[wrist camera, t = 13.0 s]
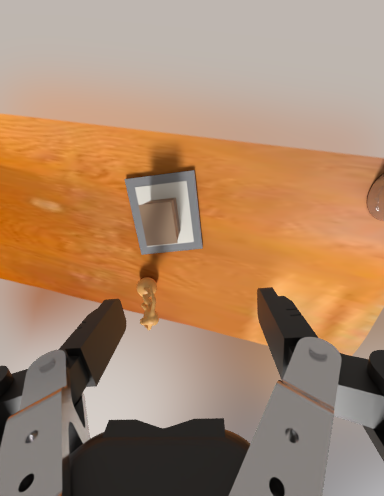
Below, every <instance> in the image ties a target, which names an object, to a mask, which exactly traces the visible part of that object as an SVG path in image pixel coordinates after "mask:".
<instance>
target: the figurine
mask: <svg viewBox="0 0 384 496" xmlns="http://www.w3.org/2000/svg"><path fill="white" fill-rule="evenodd" d="M156 290H157V284H156V282H155V280H154V279H152V278H150V277H145V278H142V279H141V280H140V281H139V282H138V284H137V292H138V293H139V295H141V296H142V298H143V300H144V303H142V304H141V307H142V308H143V309H144V310H145V313H144V317H143V318H142V319H141V320H140V321H141V322H140V324H141V325H144V326H145V327H146V328H147V329H148V330H150V329H151V327H152V325H156V324H157V323H158V321H159V317H158V314H157V313H156V311H155V304H156V299H155V296H154V294H155V292H156ZM151 296H152V300H151V299H150V298H149V297H151ZM152 301H153V302H152Z"/></svg>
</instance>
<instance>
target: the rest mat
mask: <svg viewBox="0 0 384 496" xmlns="http://www.w3.org/2000/svg"><path fill="white" fill-rule="evenodd" d="M125 183H126V187H127V192H128V196H129V201H130V205H131V210H132V214H133V219H134V223H135V228H136V232H137V236H138V241H139V245H140V250H141V254H142V255H143V254H152V253H162V252H172V251H182V250H192V249H201V248H203V247H202V237H201V228H200V219H199V209H198V200H197V191H196V181H195V172H194V170H192V171H184V172H177V173H169V174H161V175H154V176H146V177H138V178H131V179H125ZM167 198H176V202H177V209H178V216H179V223H180V230H181V231H180V234H179V237H178V240H177V241H178V243H174V244H164V245H154V246H147V244H146V239H145V234H144V229H143V225H142V220H141V215H140V210H139V205H142V204H144V203H146V202H148V201H151V200H159V199H167Z"/></svg>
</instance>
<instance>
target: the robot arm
mask: <svg viewBox="0 0 384 496" xmlns="http://www.w3.org/2000/svg"><path fill="white" fill-rule="evenodd" d="M367 206H368V210H369V212H370V213H371V215H372V216H373V217H375V218H376V219H379V220H382V221H384V174H383V175H381V176H380V177H379V178H378V179H377V180H376V182H375V183H374V184H373V186H372V187H371V189H370V191H369V194H368V198H367ZM257 304H258V319H259V323H260V325H261V328H262V330H263V333H264V336H265V338H266V341H267V343H268V346H269V349H270V351H271V354H272V356H273V359H274V361H275V364H276V367H277V369H278V372H279V374H280V377H281V379H282V381H281V380H278V382H277V383H276V385H275V387H274V390H273V392H272V395H271V397H270V399H269V402H268V404H267V407H266V409H265V411H264V414H263V416H262V418H261V421H260V423H259V425H258V428H257V430H256V432H255V435H254V437H253V440H252V442H251V444H250V443H249V442H248V441H247V440H245V439H244V438H242V437H241V436H239V435H237V434H235V433H233V432H231V431H228V430H225V426H224V419H193V420H189V421H186V422H183V423H180V424H177V425H174V426H171V427H168V428H163V429H162V428H159V427H156V426H153V425H150V424H147V423H144V422H141V421H138V420H109V422H108V424H107V427H106V430H105V432H103V433H101V434H99V435H97V436H95V437H93V438H91V439H90V435H89V427H88V419H87V412H86V404H85V397H84V394H83V391H84V389H85V388H86V387H90V386H97V384H98V382H99V380H100V378H101V376H102V375H103V373H104V371H105V369H106V367H107V365H108V363H109V361H110V359H111V357H112V355H113V353H114V351H115V349H116V347H117V345H118V344H119V342H120V339H121V338H122V336H123V334H124V332H125V329H126V318H125V315H124V311H123V308H122V304H121V301H120V300H119V299H109V300H104V301H103V303H102V304H101V305H100V306H99V308H98V309H96V310H94V311H93V312H91V313H90V314H89V315H88V316H87V317H86V318H85V319H84V320H83V321H82V323H81V324H80V325H79V326H78V327H77V329H76V330H75V331H74V332H73V333H72V334H71V336H70V337H69V338H68V339H67V340H66V342H65V343H64V344H63V345H62V346H61V348H60V349H59V350H54V351H51V352H48V353H46V354H44V355H42V356H41V357H39V358H38V359H37V360H36V361H34V362H33V363H32V364H31V366H30V367H29V368H28V369H26V370H23V371H20V372H16V373H13V374H11V373H10V371H9V369H8V368H7V367H6V366H0V496H322V492H323V486H324V478H325V472H326V465H327V458H328V452H329V445H330V438H331V431H332V424H333V417H334V416H335V417H339V418H342V419H345V420H348V421H351V422H354V423H357V424H360V425H363V427H364V429H365V430H366V432H367V434H368V435H369V437H370V439H371V440H372V442H373V444H374V446H375V447H376V449H377V451H378V452H379V454H380V456H381V457H382V459H383V461H384V350H377V351H374V352H372V353H371V354H370V356H369V359H364V358H359V357H353V356H349V355H345V354H342V353H339V351H338V350H337V349H336V348H335V347H334V346H333V345H332V344H330V343H329V342H327V341H325V340H322V339H320V338H318V337H317V335H316V334H315V332H314V331H313V330H312V328H311V327H310V325H309V324H308V323H307V321H306V320H305V319H304V317H303V316H302V315H301V313H300V312H299V310H297V307H296V306H295V305H294V303H293V302H292V301H291V300H289V299H288V298H286V297H285V296H278V295H277V294H276V292H275V291H274V289H273V288H272V287H271V288H258V290H257Z"/></svg>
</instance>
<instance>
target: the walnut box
mask: <svg viewBox="0 0 384 496" xmlns="http://www.w3.org/2000/svg"><path fill="white" fill-rule="evenodd" d="M139 210H140V215H141V220H142V225H143V229H144V234H145V239H146V244H147V246H154V245H164V244H174V243H178V241H177V240H178V237H179V234H180V231H181V230H180V223H179V216H178V209H177V202H176V198H167V199H159V200H151V201H148V202H146V203H144V204H142V205H139Z"/></svg>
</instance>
